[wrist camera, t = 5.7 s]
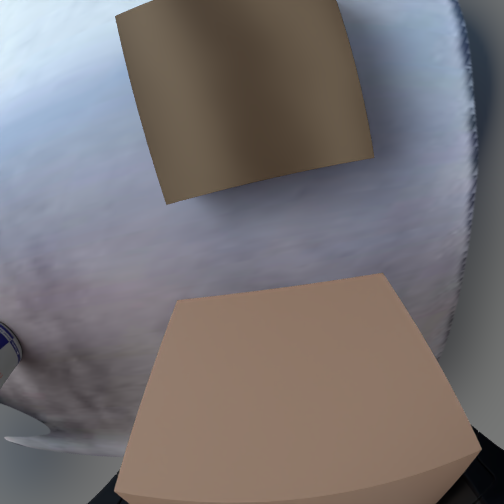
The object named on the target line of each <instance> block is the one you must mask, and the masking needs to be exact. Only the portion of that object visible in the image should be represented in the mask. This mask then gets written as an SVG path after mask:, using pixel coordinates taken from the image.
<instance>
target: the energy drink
mask: <svg viewBox="0 0 504 504" xmlns="http://www.w3.org/2000/svg"><path fill="white" fill-rule="evenodd" d="M21 359H22V350H21V346H20V344H19V342H18V340H17V338H16V337H15V335H14V334H13V333H12V332H11V331H10V330H9V328H7V327H6V326H5V325H4V324H2V323H1V322H0V389H1V387H2V386H3V384H4V383H5V381H6V380H7V378H8V377H9V376H10V374H11V373H12V371H13V370H14V369H15V367H16V366H17V364H18V363H19V362H20V360H21Z"/></svg>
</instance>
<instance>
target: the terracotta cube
mask: <svg viewBox="0 0 504 504" xmlns="http://www.w3.org/2000/svg"><path fill="white" fill-rule="evenodd" d="M481 450H482V448H481V446H480V444H479V442H478V439H477V437H476V435H475V433H474V431H473V429H472V427H471V425H470V423H469V421H468V418H467V417H466V415H465V412H464V410H463V408H462V407H461V404H460V403H459V401H458V399H457V397H456V395H455V393H454V391H453V389H452V387H451V385H450V383H449V382H448V380H447V378H446V376H445V374H444V373H443V371H442V369H441V367H440V365H439V363H438V362H437V360H436V358H435V356H434V355H433V353H432V351H431V349H430V348H429V346H428V344H427V343H426V341H425V339H424V338H423V336H422V334H421V333H420V331H419V329H418V328H417V326H416V324H415V323H414V321H413V319H412V318H411V316H410V315H409V313H408V311H407V310H406V308H405V307H404V305H403V303H402V302H401V300H400V299H399V297H398V296H397V294H396V293H395V291H394V289H393V288H392V286H391V285H390V283H389V282H388V280H387V279H386V277H385V276H384V274H383V273H378V274H372V275H366V276H360V277H353V278H347V279H340V280H333V281H327V282H320V283H313V284H306V285H299V286H291V287H284V288H277V289H269V290H261V291H253V292H245V293H237V294H229V295H220V296H211V297H203V298H193V299H184V300H177V303H176V305H175V308H174V311H173V313H172V316H171V319H170V321H169V324H168V327H167V329H166V332H165V335H164V338H163V340H162V343H161V346H160V349H159V352H158V354H157V357H156V360H155V363H154V366H153V369H152V371H151V374H150V377H149V380H148V383H147V386H146V389H145V392H144V395H143V398H142V401H141V404H140V407H139V410H138V413H137V416H136V419H135V422H134V426H133V429H132V432H131V435H130V438H129V442H128V445H127V448H126V451H125V455H124V458H123V461H122V465H121V468H120V471H119V475H118V478H117V482H116V485H115V489H114V492H116V493H117V494H118V495H119V496H120V497H122V498H123V499H124V500H125V501H127V502H128V503H129V504H436V503H437V502H438V501H439V500H440V499H441V498H442V497H443V495H444V494H445V493H446V492H447V491H448V490H449V489H450V488H451V487H452V486H453V484H454V483H455V482H456V481H457V480H458V479H459V477H460V476H461V475H462V474H463V473H464V471H465V470H466V469H467V468H468V467H469V465H470V464H471V463H472V462H473V460H474V459H475V458H476V456H477V455H478V454H479V452H480V451H481Z"/></svg>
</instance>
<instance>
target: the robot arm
mask: <svg viewBox="0 0 504 504" xmlns="http://www.w3.org/2000/svg"><path fill="white" fill-rule="evenodd" d="M470 425H471V424H470ZM471 427H472V429H473V431H474V433H475V435H476V437H477V439H478V442H479V444H480V446H481V448H482V450H481V451H480V452H479V454H478V455H477V456H476V458H475V459H474V460H473V462H472V463H471V464H470V465H469V467H468V468H467V469H466V470H465V471H464V473H463V474H462V475H461V476H460V477H459V479H458V480H457V481H456V482H455V483H454V484H453V486H452V487H451V488H450V489H449V490H448V491H447V492H446V493H445V494H444V495H443V497H442V498H441V499H440V500H439V501H438V502H437V503H436V504H504V450H503V449H501V448H500V447H498V446H497V445H496V444H494V443H493V442H492V441H490V440H489V439H488V438H487V437H485V436H484V435H483V434H482V433H480V432H478V430H476V429H475V428H474V427H473V426H472V425H471ZM119 471H120V470H119ZM119 471H118V472H117V475H115V476H114V477H113V478H112V479H111V480H110V482H109V483H108V484H107V485H106V486H105V487H104V488H103V489H102V490H101V491H100V492H99V493H98V494H97V495H96V496H95V497H94V498H93V499H92V500H91V501H90V502H89V503H88V504H129V503H128V502H127V501H125V500H124V499H123V498H122V497H120V496H119V495H118V494H117V493H116V492H114V489H115V485H116V482H117V478H118V475H119Z"/></svg>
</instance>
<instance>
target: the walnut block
mask: <svg viewBox="0 0 504 504" xmlns="http://www.w3.org/2000/svg"><path fill="white" fill-rule="evenodd" d="M115 18H116V23H117V27H118V32H119V36H120V41H121V45H122V49H123V54H124V58H125V62H126V66H127V70H128V74H129V78H130V82H131V86H132V90H133V94H134V97H135V101H136V105H137V108H138V112H139V116H140V119H141V123H142V126H143V130H144V133H145V137H146V140H147V144H148V147H149V150H150V154H151V157H152V160H153V164H154V167H155V170H156V173H157V177H158V180H159V183H160V186H161V189H162V192H163V196H164V199H165V202H166V205H168V204H171V203H175V202H178V201H182V200H186V199H189V198H193V197H197V196H201V195H205V194H208V193H212V192H216V191H220V190H224V189H228V188H232V187H236V186H240V185H244V184H249V183H253V182H257V181H261V180H266V179H270V178H275V177H279V176H284V175H288V174H293V173H297V172H302V171H307V170H312V169H317V168H322V167H327V166H332V165H337V164H342V163H348V162H353V161H359V160H364V159H370V158H374V152H373V146H372V140H371V135H370V129H369V124H368V119H367V114H366V109H365V104H364V99H363V95H362V90H361V86H360V82H359V78H358V73H357V69H356V65H355V62H354V58H353V54H352V50H351V47H350V43H349V40H348V36H347V33H346V29H345V26H344V23H343V20H342V16H341V13H340V10H339V7H338V4H337V1H336V0H153V1H150V2H148V3H145V4H143V5H140V6H138V7H135V8H133V9H130V10H128V11H126V12H123V13H121V14H119V15H117V16H115Z"/></svg>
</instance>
